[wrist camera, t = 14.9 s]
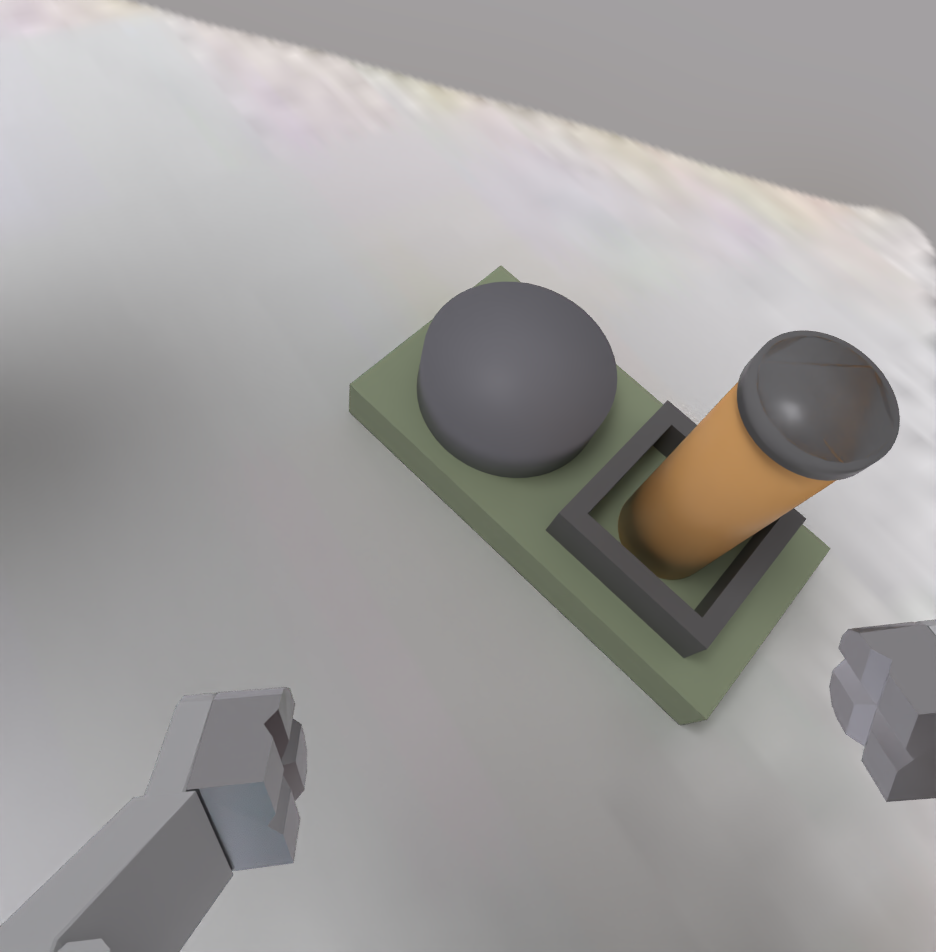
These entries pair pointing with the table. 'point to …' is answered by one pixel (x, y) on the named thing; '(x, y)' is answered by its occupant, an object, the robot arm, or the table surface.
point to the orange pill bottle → (762, 452)
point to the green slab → (575, 484)
